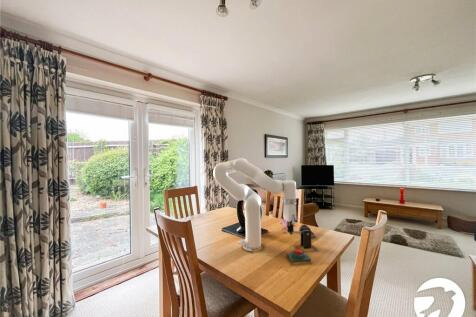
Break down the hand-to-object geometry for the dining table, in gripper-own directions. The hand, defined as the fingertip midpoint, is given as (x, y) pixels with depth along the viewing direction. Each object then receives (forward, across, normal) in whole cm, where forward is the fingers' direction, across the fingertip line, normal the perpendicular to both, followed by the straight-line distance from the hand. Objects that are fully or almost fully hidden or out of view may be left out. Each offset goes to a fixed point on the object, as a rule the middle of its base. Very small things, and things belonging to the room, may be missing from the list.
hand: (290, 231), depth 121 cm
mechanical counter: (+11, -17, +18) cm, 28 cm away
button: (+8, +12, 0) cm, 14 cm away
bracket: (+11, 0, +10) cm, 15 cm away
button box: (+11, +12, 0) cm, 16 cm away
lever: (+2, 0, +5) cm, 5 cm away
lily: (+11, -29, +8) cm, 32 cm away
